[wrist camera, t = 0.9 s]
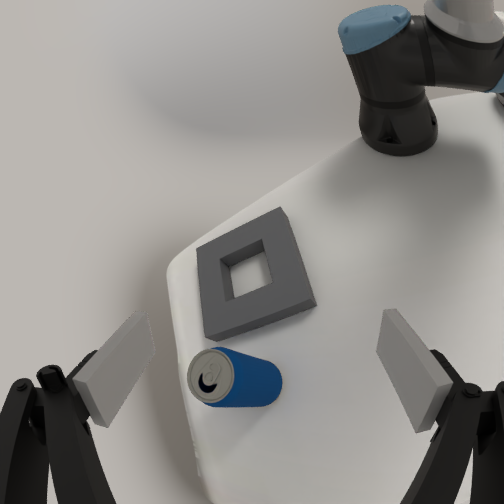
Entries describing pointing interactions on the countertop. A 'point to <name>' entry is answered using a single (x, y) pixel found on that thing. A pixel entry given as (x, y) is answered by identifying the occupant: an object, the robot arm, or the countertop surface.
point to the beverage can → (233, 379)
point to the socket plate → (260, 300)
